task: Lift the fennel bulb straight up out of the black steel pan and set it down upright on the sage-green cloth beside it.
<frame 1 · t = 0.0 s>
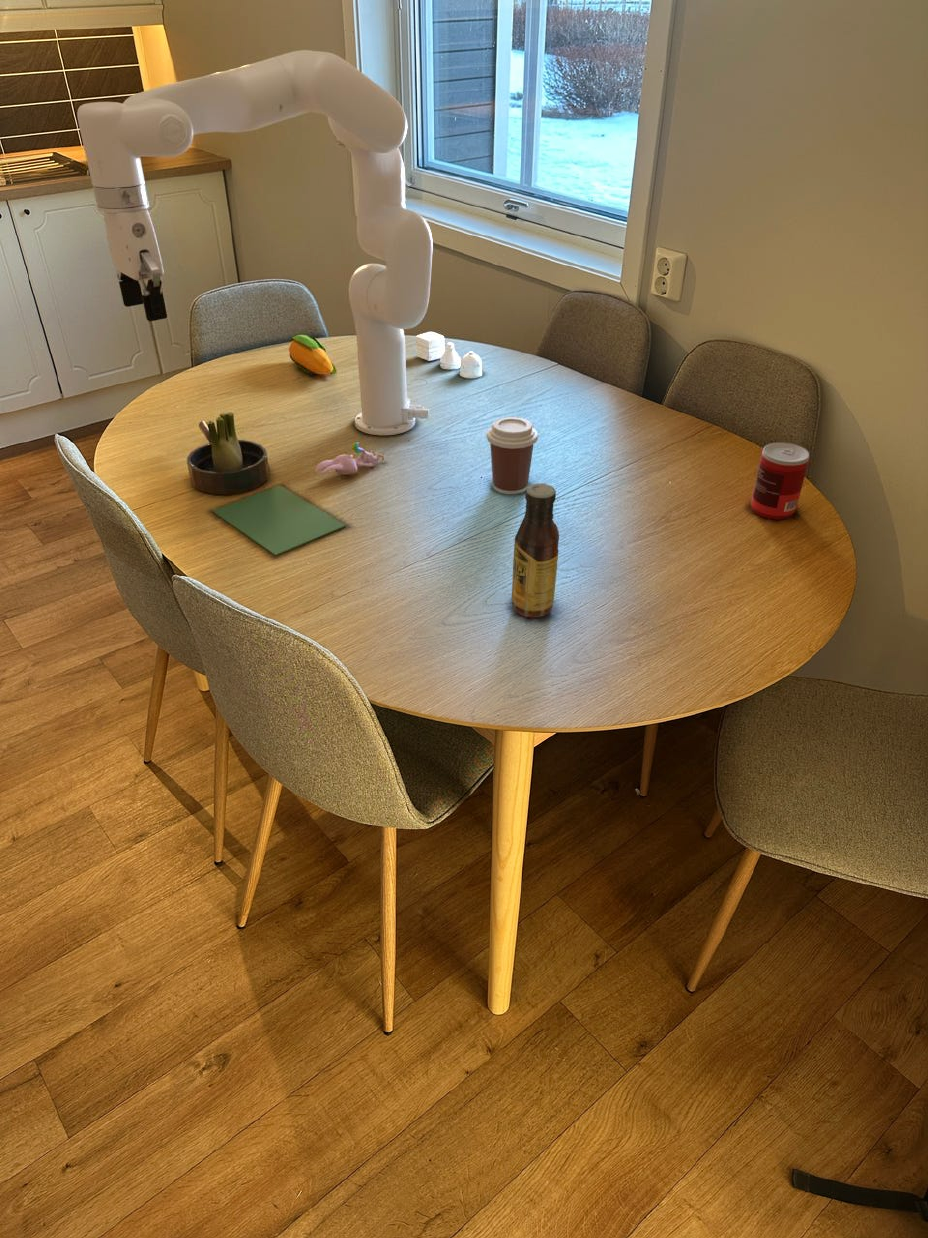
hand: (145, 311, 142), 31 cm above the table, tool pointing down, fingers open, 9 cm apart
canned food: (772, 510, 154), on the table
container set: (450, 366, 211), on the table
corn: (315, 372, 208), on the table
coffee cup: (510, 486, 161), on the table
sauce bottle: (532, 609, 129), on the table
fennel bulb: (230, 477, 163), resting on pan
pan: (230, 478, 163), on the table
cloth: (278, 519, 150), on the table
pan handle: (210, 435, 170), point 3 cm above the table
rabbit figure: (350, 473, 165), on the table
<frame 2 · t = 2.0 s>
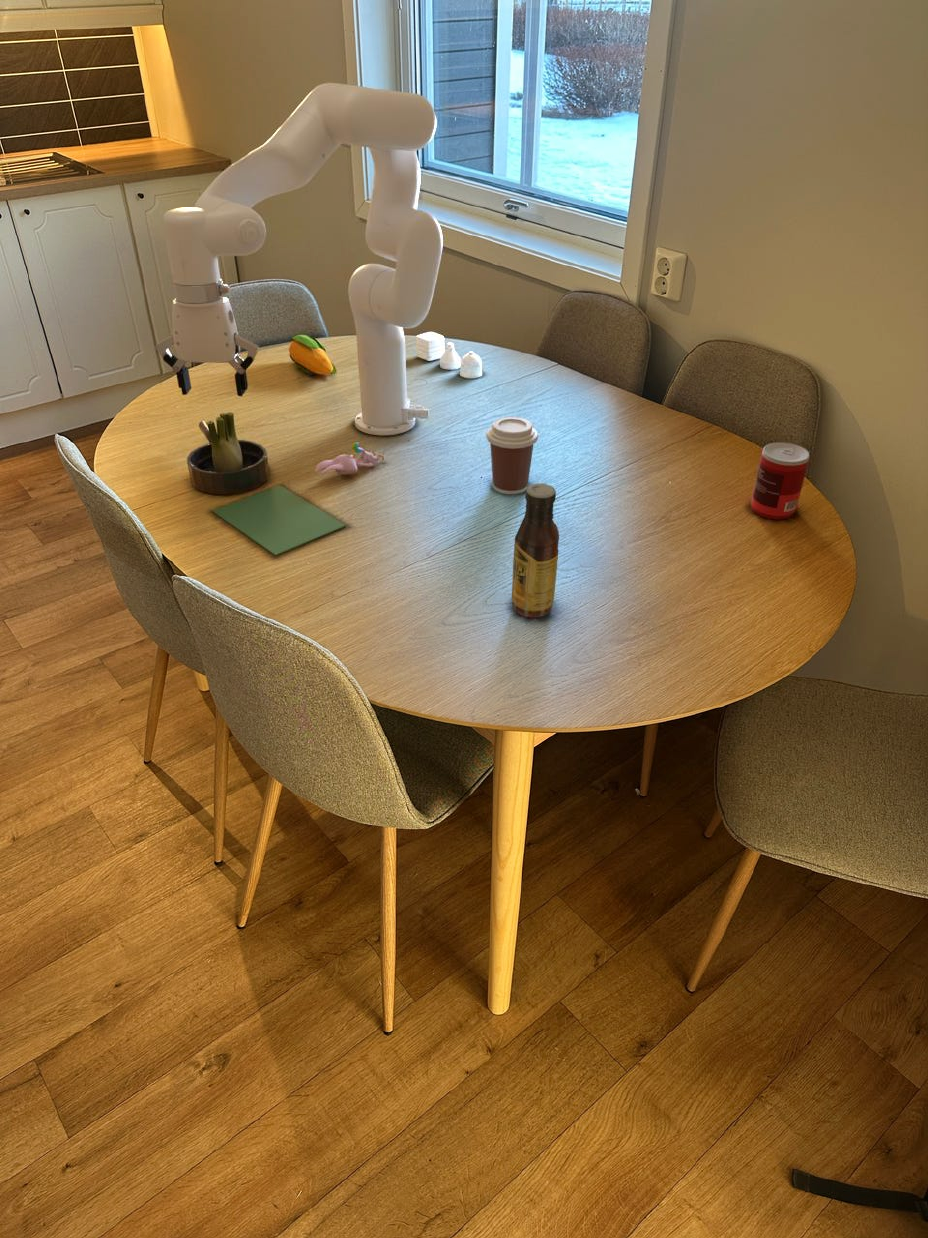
hand: (214, 392, 153), 17 cm above the table, tool pointing down, fingers open, 9 cm apart
nothing on the table moved.
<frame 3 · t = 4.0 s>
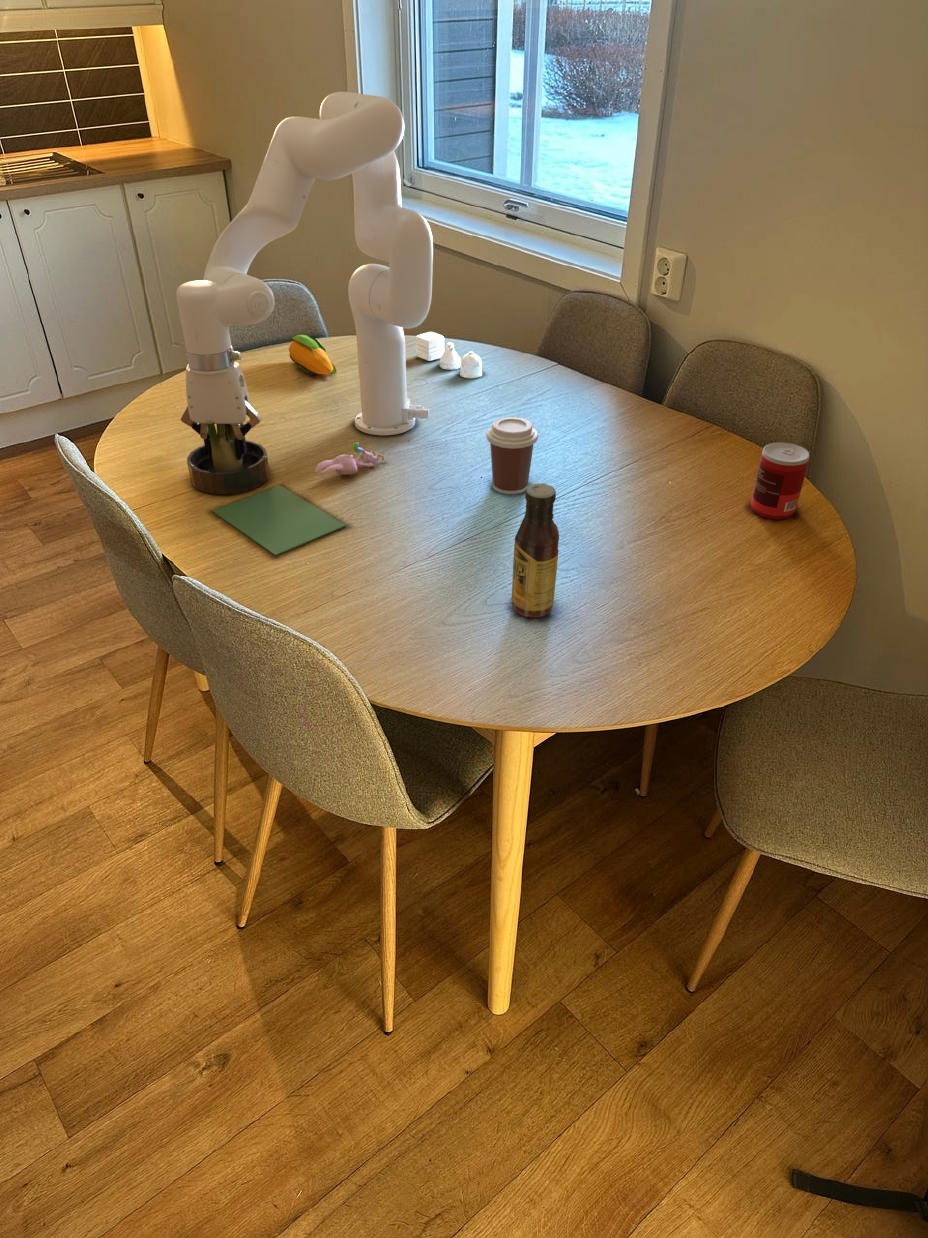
hand: (227, 455, 160), 5 cm above the table, tool pointing down, fingers closed on fennel bulb, 4 cm apart
fennel bulb: (230, 477, 163), resting on pan, touching gripper
everything else where it was.
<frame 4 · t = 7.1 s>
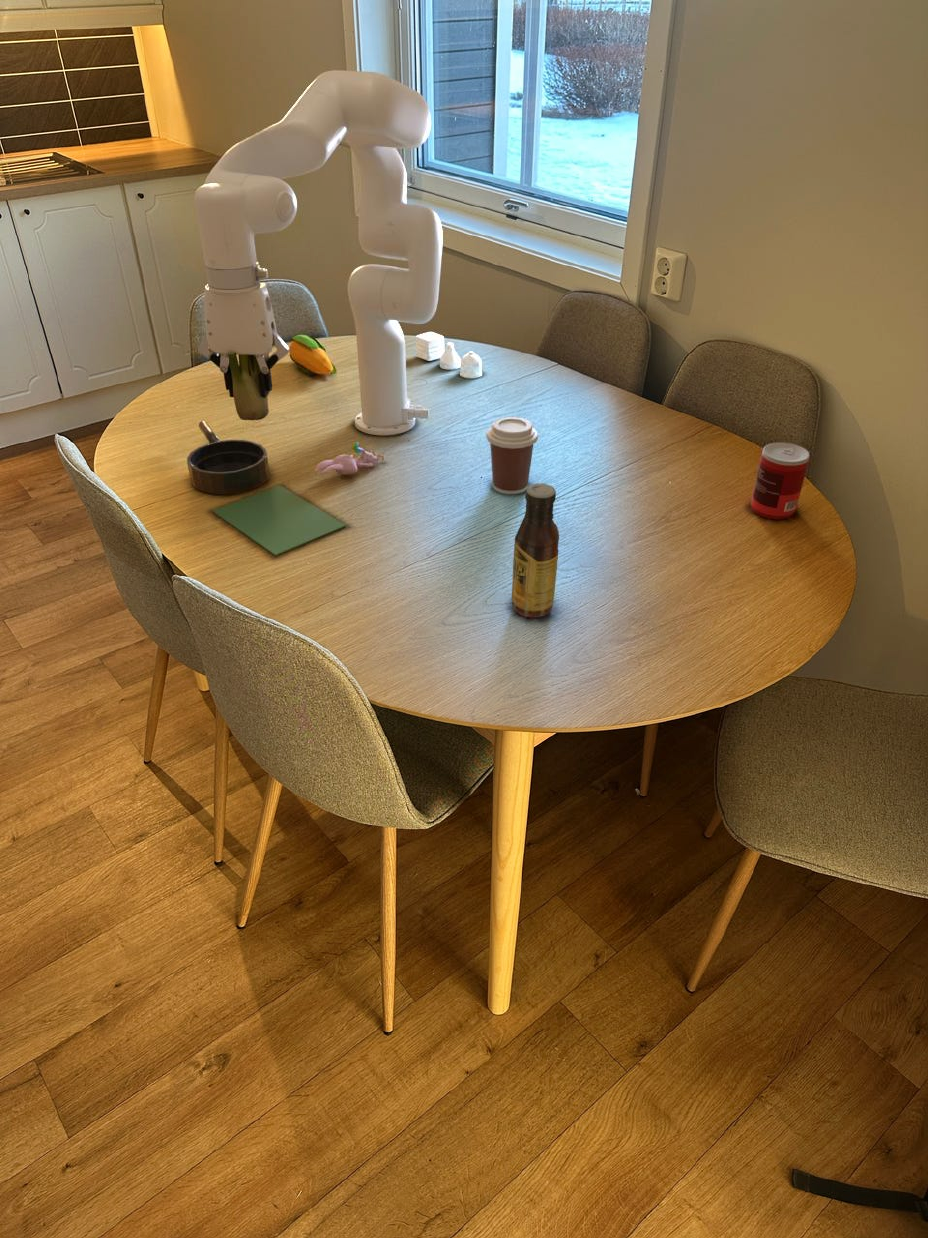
hand: (250, 393, 141), 21 cm above the table, tool pointing down, fingers closed on fennel bulb, 4 cm apart
fennel bulb: (253, 418, 143), point 17 cm above the table, touching gripper
everything else where it was.
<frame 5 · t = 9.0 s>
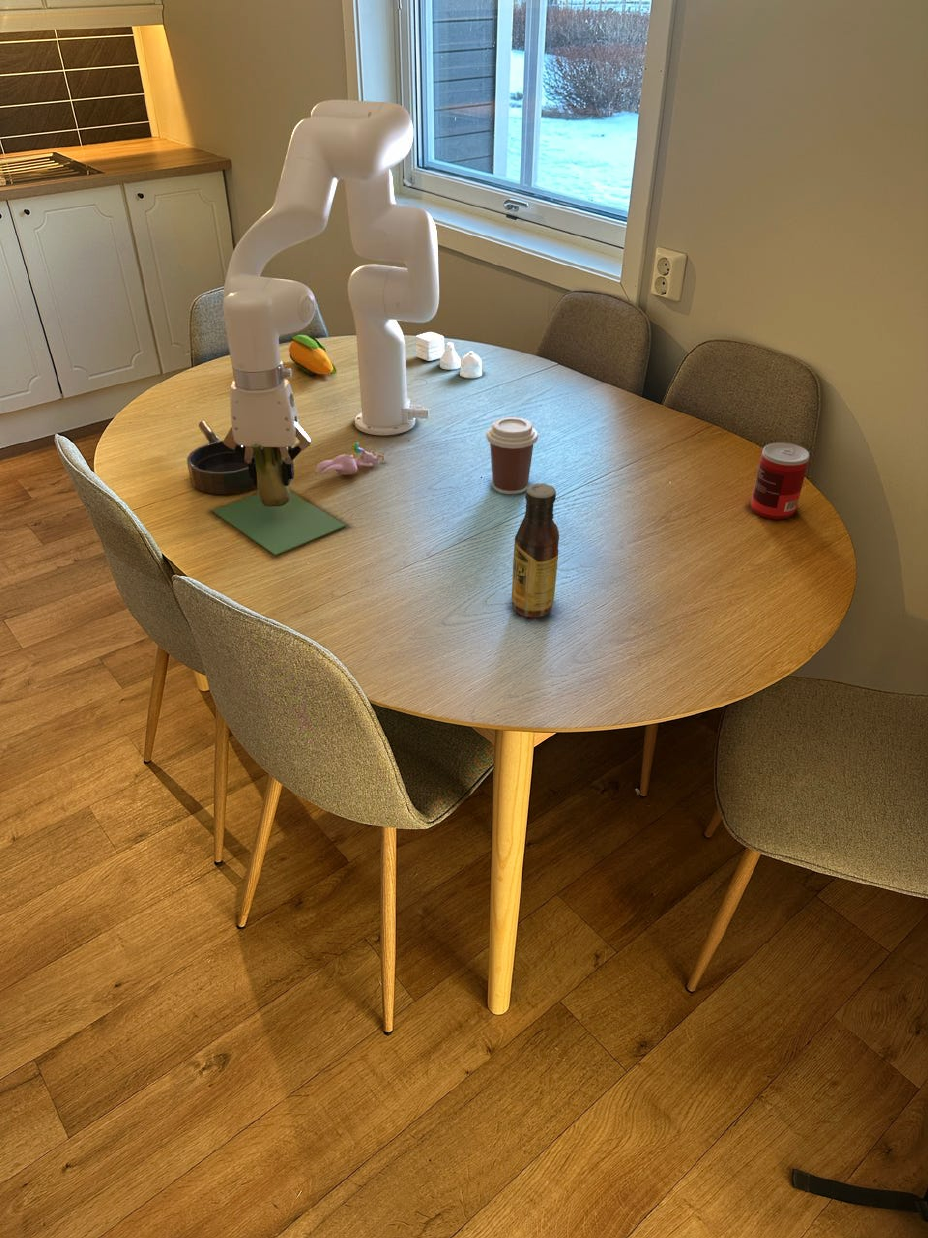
hand: (272, 480, 146), 7 cm above the table, tool pointing down, fingers closed on fennel bulb, 4 cm apart
fennel bulb: (275, 504, 149), point 3 cm above the table, touching gripper
everything else where it was.
when the fingers open (4 cm above the table, at t = 10.2 s): fennel bulb stays where it is, resting on cloth.
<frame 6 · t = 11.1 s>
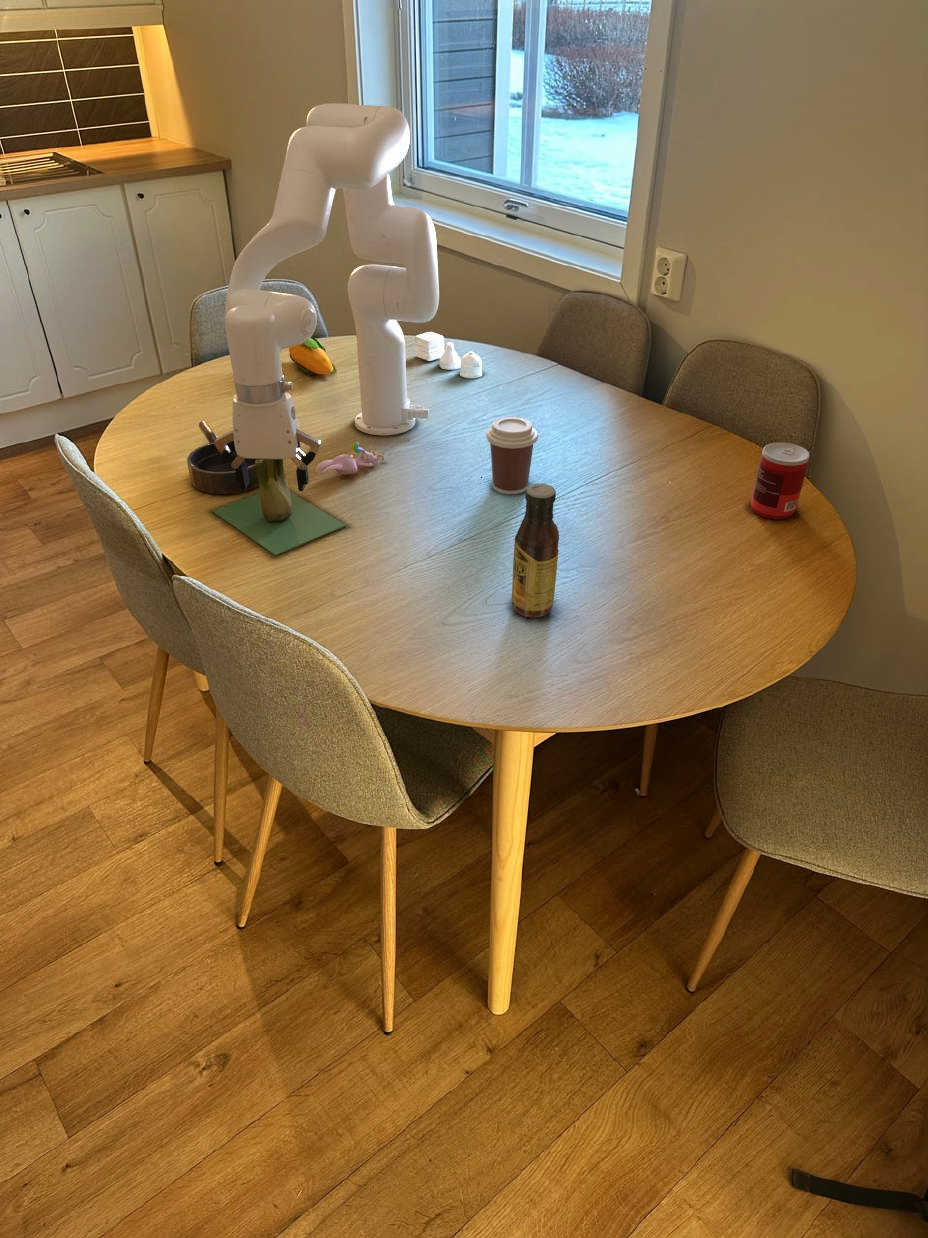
hand: (273, 487, 147), 6 cm above the table, tool pointing down, fingers open, 9 cm apart
fennel bulb: (277, 518, 150), resting on cloth
everything else where it was.
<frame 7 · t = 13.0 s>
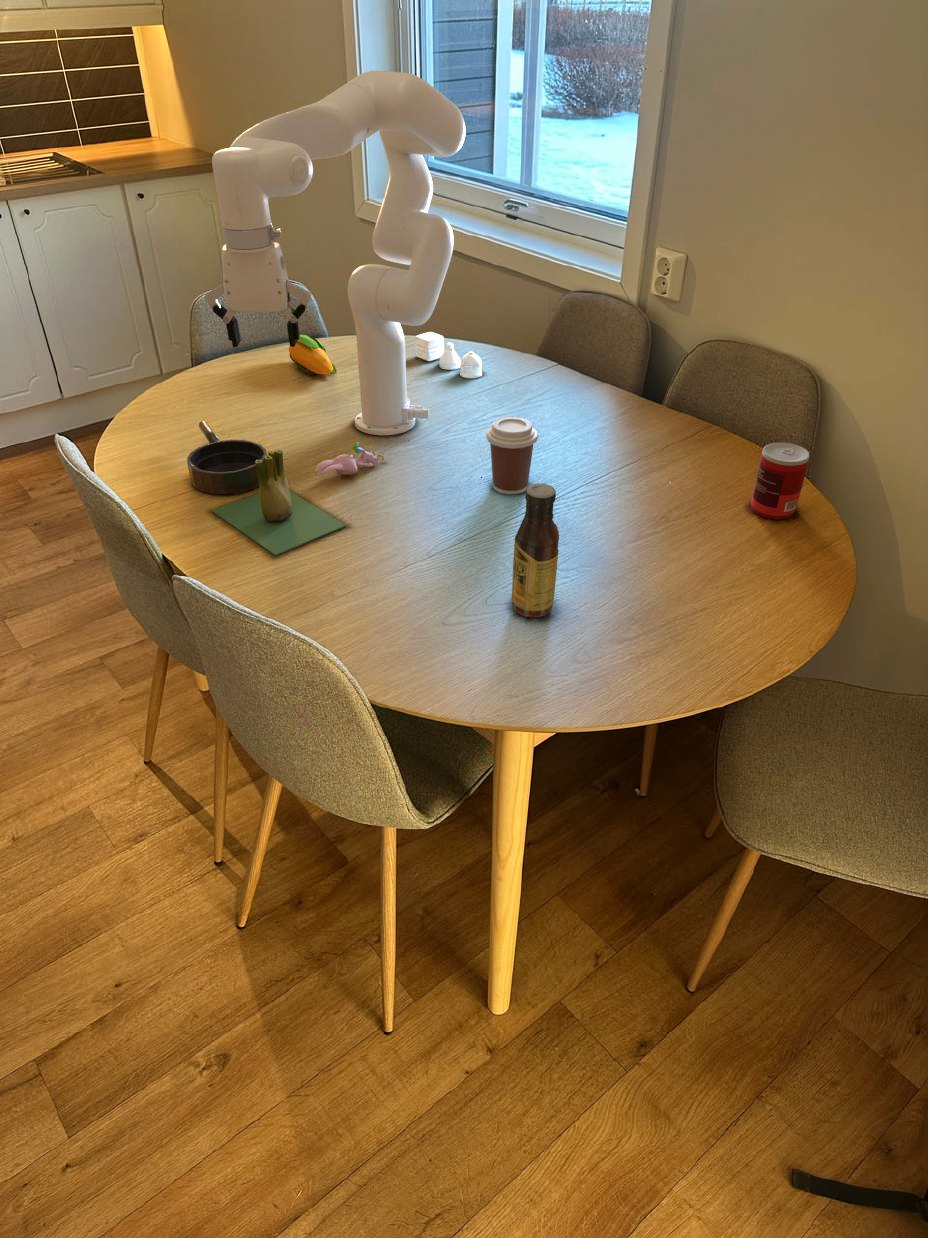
hand: (265, 344, 148), 25 cm above the table, tool pointing down, fingers open, 9 cm apart
nothing on the table moved.
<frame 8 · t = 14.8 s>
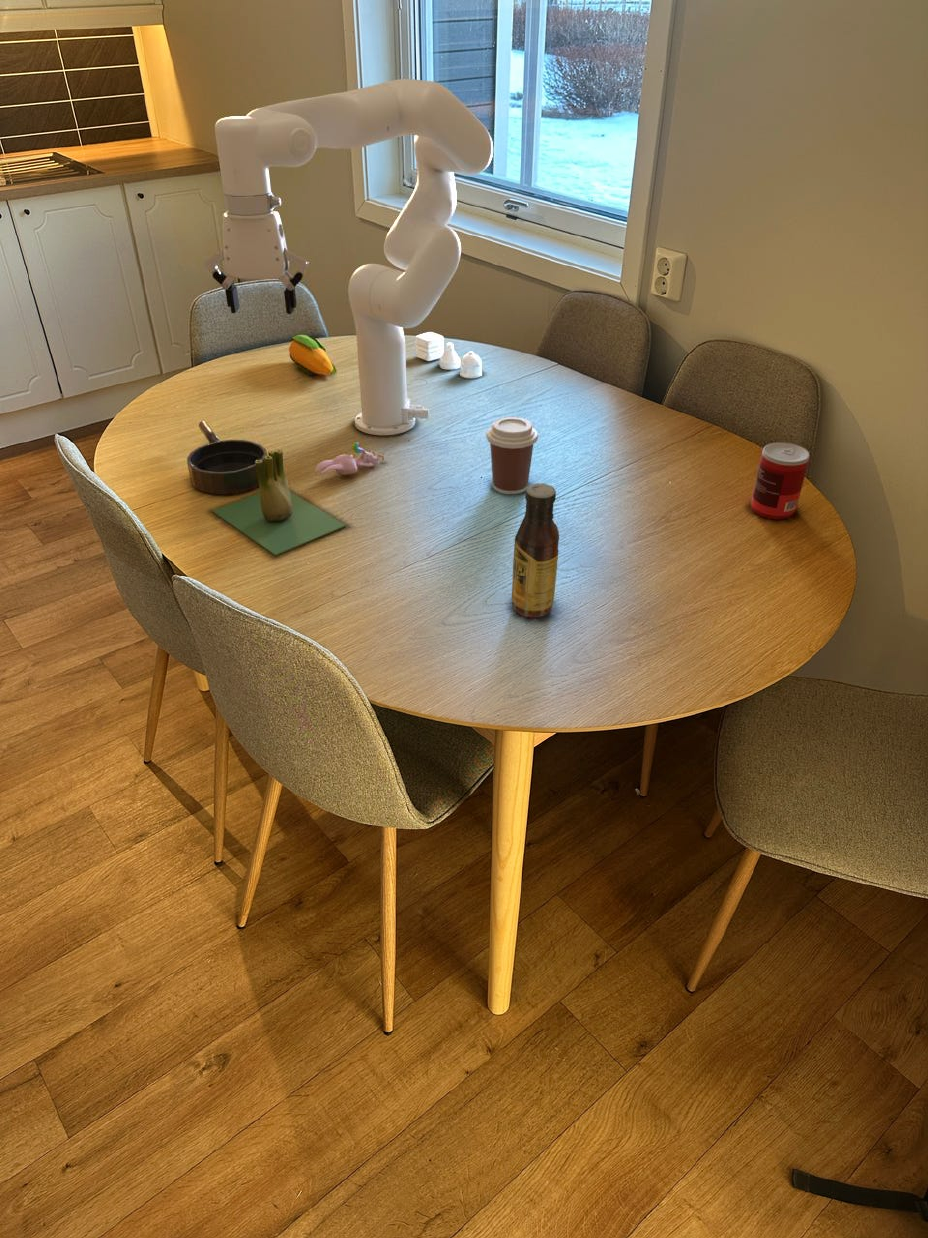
hand: (263, 311, 152), 28 cm above the table, tool pointing down, fingers open, 9 cm apart
nothing on the table moved.
at the end: fennel bulb inside the target area on the cloth (0.0 cm from its centre), point 0.1 cm above the cloth's base; fennel bulb tilted 0°; fennel bulb touching cloth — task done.
